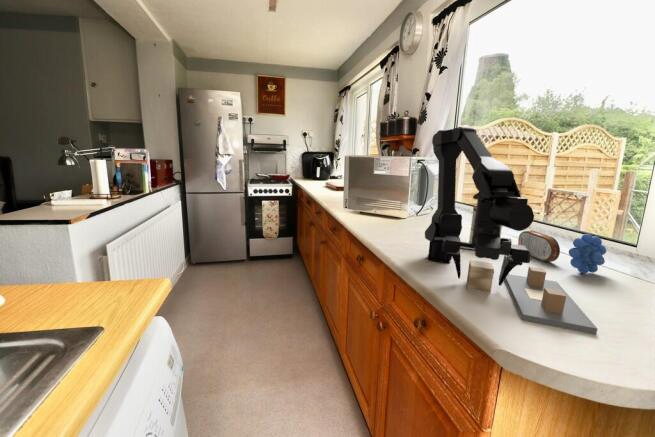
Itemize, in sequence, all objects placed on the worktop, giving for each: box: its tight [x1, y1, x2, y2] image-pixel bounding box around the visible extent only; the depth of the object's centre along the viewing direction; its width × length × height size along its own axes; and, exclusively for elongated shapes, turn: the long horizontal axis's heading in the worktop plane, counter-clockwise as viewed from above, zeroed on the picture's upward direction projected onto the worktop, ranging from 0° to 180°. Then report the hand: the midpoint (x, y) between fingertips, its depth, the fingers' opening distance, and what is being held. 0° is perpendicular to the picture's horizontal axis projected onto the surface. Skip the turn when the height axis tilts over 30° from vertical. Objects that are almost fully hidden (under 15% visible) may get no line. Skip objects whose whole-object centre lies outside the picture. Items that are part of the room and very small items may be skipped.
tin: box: [517, 229, 561, 263], centre depth 102 cm, size 15×3×8 cm, turn 7°
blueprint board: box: [504, 266, 598, 335], centre depth 70 cm, size 12×24×5 cm, turn 159°
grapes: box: [568, 233, 607, 274], centre depth 87 cm, size 12×7×12 cm, turn 99°
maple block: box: [466, 259, 495, 294], centre depth 76 cm, size 5×5×6 cm
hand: (478, 281), depth 76 cm, fingers open, 9 cm apart
